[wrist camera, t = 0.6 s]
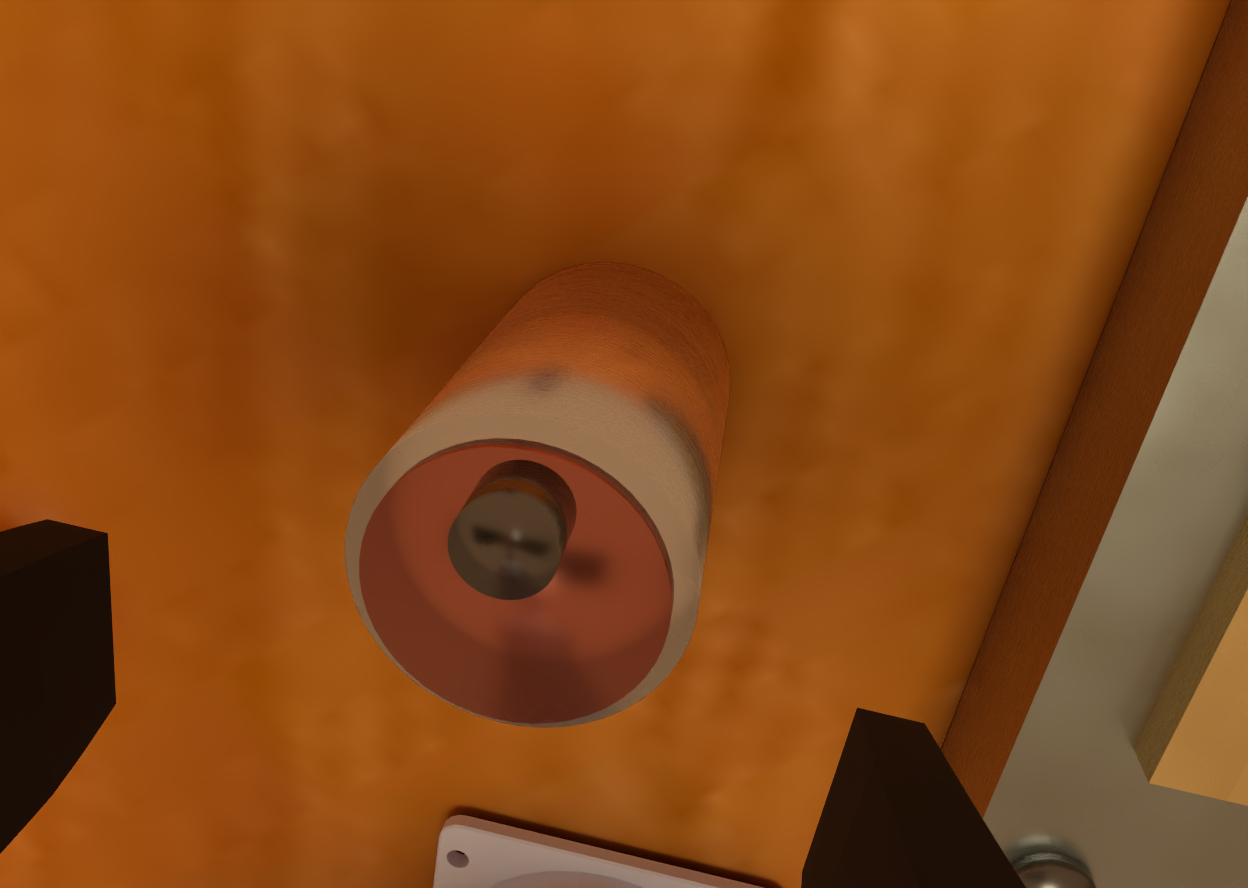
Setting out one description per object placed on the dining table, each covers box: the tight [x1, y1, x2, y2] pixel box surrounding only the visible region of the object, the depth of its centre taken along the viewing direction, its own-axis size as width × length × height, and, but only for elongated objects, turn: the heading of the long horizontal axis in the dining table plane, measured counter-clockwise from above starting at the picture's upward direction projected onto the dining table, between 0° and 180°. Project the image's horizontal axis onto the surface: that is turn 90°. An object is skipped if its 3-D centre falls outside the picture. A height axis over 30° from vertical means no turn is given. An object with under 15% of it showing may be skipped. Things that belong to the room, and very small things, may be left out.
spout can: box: [345, 263, 730, 727], centre depth 15 cm, size 4×4×8 cm
